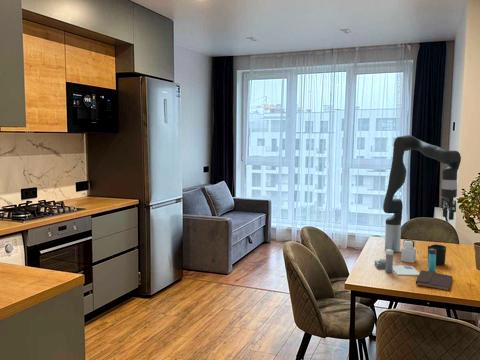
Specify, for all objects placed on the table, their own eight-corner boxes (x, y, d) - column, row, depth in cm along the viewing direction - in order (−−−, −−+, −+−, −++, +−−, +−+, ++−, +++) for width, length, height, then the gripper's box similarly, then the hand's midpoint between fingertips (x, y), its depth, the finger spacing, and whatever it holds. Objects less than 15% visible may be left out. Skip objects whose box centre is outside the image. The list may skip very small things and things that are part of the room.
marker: (426, 270, 229) (427, 248, 228) (434, 270, 229) (434, 248, 228) (429, 272, 225) (430, 250, 224) (436, 272, 225) (437, 250, 224)
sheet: (389, 266, 237) (389, 265, 237) (411, 266, 236) (411, 265, 236) (397, 275, 221) (397, 274, 221) (421, 275, 220) (421, 274, 220)
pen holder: (447, 266, 237) (448, 248, 236) (429, 265, 239) (430, 247, 238) (442, 261, 246) (443, 244, 245) (425, 260, 248) (426, 244, 247)
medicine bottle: (402, 258, 253) (403, 238, 252) (415, 260, 250) (416, 239, 249) (400, 261, 247) (401, 240, 246) (413, 263, 244) (414, 242, 243)
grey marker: (384, 271, 228) (384, 249, 227) (391, 271, 228) (392, 249, 227) (386, 273, 224) (386, 251, 223) (393, 273, 224) (394, 251, 223)
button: (379, 263, 238) (379, 258, 237) (384, 263, 237) (384, 258, 237) (380, 264, 235) (380, 259, 234) (386, 264, 234) (386, 259, 234)
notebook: (452, 279, 215) (452, 275, 214) (450, 290, 197) (450, 286, 197) (420, 273, 222) (420, 269, 222) (415, 284, 205) (415, 280, 204)
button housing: (374, 264, 240) (374, 260, 240) (387, 265, 239) (387, 260, 239) (377, 268, 233) (377, 264, 233) (390, 268, 232) (390, 264, 232)
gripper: (437, 186, 234) (435, 216, 235) (446, 189, 220) (445, 220, 221) (451, 186, 233) (450, 216, 234) (462, 189, 219) (460, 220, 220)
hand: (447, 218), depth 228 cm, fingers open, 8 cm apart
